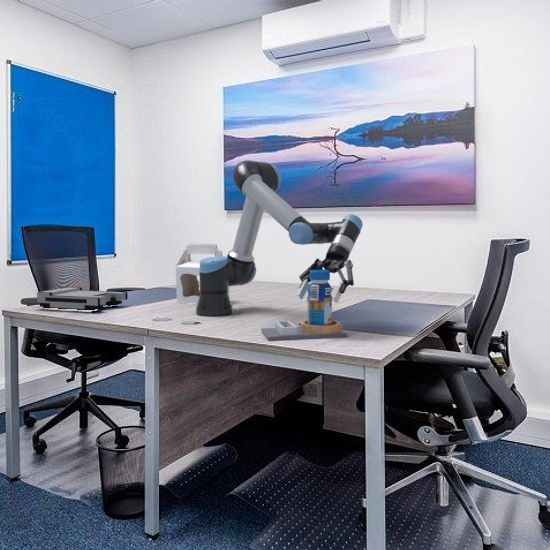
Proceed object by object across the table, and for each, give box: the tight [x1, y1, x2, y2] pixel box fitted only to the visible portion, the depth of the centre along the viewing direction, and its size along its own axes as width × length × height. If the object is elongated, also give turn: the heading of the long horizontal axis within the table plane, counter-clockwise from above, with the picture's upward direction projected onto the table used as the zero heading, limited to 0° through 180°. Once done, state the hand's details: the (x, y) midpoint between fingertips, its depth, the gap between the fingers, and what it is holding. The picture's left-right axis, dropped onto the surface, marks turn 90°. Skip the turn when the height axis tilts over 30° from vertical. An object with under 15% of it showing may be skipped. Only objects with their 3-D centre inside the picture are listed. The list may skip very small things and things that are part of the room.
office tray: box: [36, 286, 129, 310], centre depth 229 cm, size 21×32×8 cm, turn 71°
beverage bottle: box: [306, 269, 333, 326], centre depth 170 cm, size 8×8×20 cm
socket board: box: [260, 319, 348, 342], centre depth 170 cm, size 26×14×4 cm, turn 101°
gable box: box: [175, 243, 231, 305], centre depth 243 cm, size 22×13×28 cm, turn 64°
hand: (317, 298), depth 168 cm, fingers open, 13 cm apart
